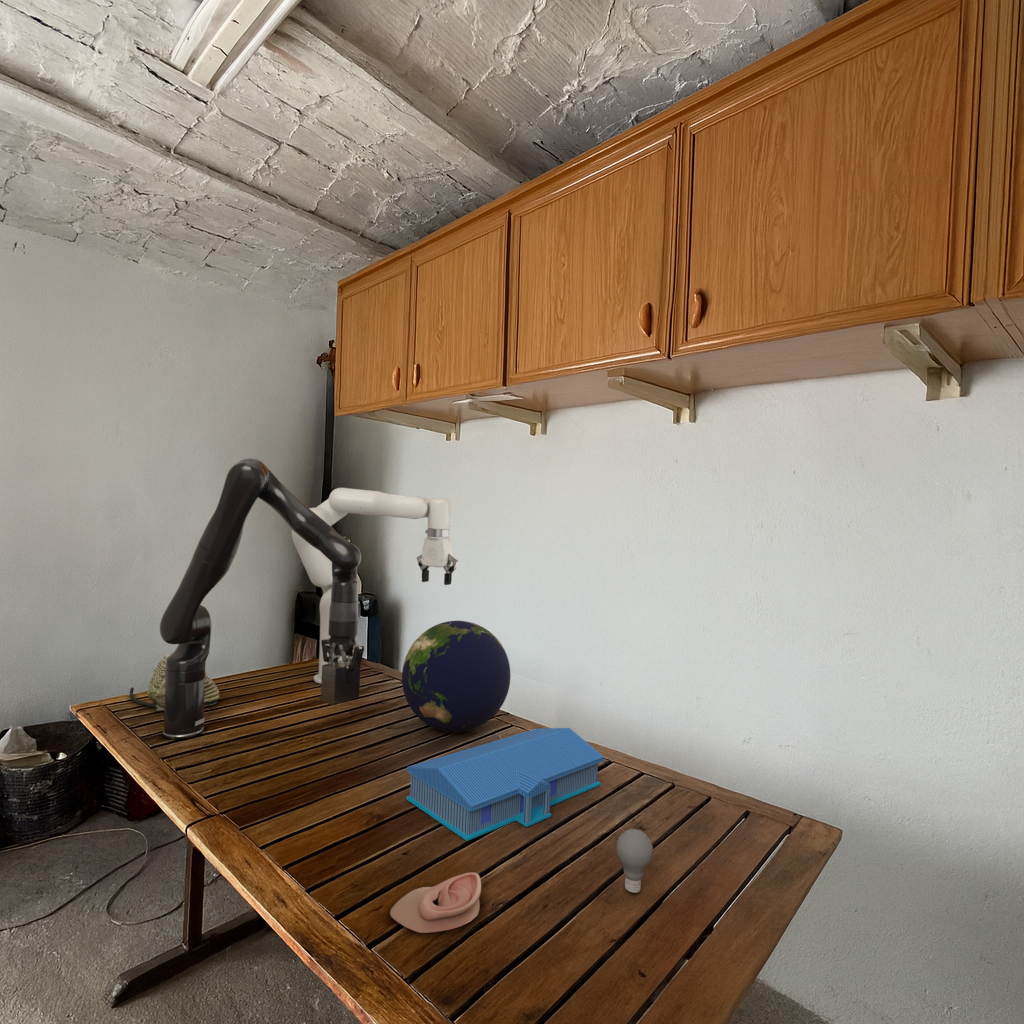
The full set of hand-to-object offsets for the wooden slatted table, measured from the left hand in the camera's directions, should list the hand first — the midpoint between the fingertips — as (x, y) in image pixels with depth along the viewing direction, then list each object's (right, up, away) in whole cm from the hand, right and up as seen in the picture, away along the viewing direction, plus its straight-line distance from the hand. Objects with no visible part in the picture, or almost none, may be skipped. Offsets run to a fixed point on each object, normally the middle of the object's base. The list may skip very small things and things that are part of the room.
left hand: (340, 680), depth 169 cm
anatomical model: (+34, -17, -71) cm, 80 cm away
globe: (+30, -15, +7) cm, 34 cm away
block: (0, -5, 0) cm, 5 cm away
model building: (+46, -17, -31) cm, 57 cm away
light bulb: (+66, -18, -64) cm, 93 cm away
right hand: (+19, +20, +50) cm, 58 cm away
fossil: (-50, -12, +16) cm, 54 cm away
